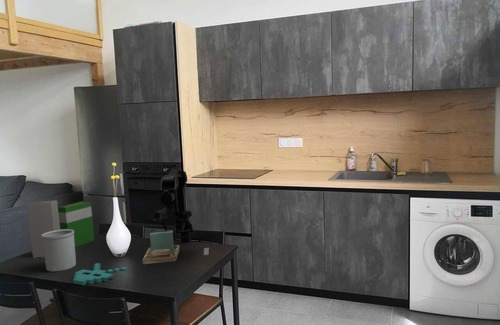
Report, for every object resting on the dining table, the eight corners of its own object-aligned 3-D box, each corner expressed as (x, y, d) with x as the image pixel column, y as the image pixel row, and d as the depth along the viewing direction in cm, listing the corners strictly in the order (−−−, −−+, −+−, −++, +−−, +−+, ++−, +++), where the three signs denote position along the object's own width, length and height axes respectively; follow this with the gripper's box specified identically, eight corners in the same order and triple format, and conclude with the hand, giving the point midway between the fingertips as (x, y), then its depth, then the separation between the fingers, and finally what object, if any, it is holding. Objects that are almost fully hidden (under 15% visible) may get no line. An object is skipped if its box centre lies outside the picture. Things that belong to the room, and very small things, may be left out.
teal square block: (152, 253, 219) (150, 233, 217) (174, 251, 219) (172, 231, 218) (151, 255, 216) (149, 234, 214) (173, 253, 216) (171, 232, 215)
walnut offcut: (149, 256, 209) (149, 253, 209) (169, 254, 211) (169, 251, 210) (148, 259, 205) (148, 256, 205) (169, 256, 206) (169, 254, 206)
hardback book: (86, 239, 262) (82, 201, 259) (94, 240, 258) (90, 201, 255) (61, 247, 246) (56, 207, 244) (69, 248, 243) (65, 207, 240)
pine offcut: (153, 253, 210) (153, 250, 209) (169, 251, 210) (169, 248, 209) (152, 255, 206) (151, 252, 205) (168, 254, 206) (168, 251, 205)
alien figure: (97, 267, 207) (62, 282, 190) (97, 263, 207) (62, 278, 189) (127, 271, 198) (94, 288, 180) (127, 267, 198) (93, 283, 180)
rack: (149, 253, 223) (148, 247, 223) (179, 250, 224) (179, 245, 224) (142, 266, 203) (142, 260, 203) (176, 262, 204) (175, 257, 204)
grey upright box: (63, 253, 234) (56, 200, 230) (57, 256, 228) (51, 202, 225) (39, 254, 235) (32, 201, 232) (33, 257, 230) (26, 203, 227)
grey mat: (184, 250, 223) (184, 250, 223) (208, 248, 224) (208, 247, 224) (182, 257, 212) (182, 256, 212) (208, 255, 213) (208, 254, 213)
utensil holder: (64, 260, 221) (60, 227, 219) (84, 263, 214) (80, 229, 212) (38, 270, 208) (34, 235, 206) (58, 273, 201) (54, 237, 199)
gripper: (146, 204, 205) (149, 235, 207) (179, 204, 198) (182, 236, 200) (158, 199, 215) (161, 228, 217) (190, 199, 209) (193, 229, 211)
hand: (174, 231), depth 211 cm, fingers open, 9 cm apart
